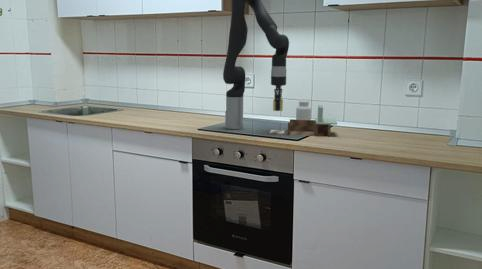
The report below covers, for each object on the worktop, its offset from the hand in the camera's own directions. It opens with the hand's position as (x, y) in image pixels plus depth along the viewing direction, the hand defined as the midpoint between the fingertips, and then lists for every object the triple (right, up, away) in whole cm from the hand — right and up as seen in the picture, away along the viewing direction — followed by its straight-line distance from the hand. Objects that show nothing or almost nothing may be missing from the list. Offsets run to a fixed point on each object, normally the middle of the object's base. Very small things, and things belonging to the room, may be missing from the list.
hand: (277, 109), depth 227 cm
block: (0, 0, 0) cm, 0 cm away
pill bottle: (+15, -10, +20) cm, 27 cm away
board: (+11, -13, +1) cm, 17 cm away
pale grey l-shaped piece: (+24, -6, -2) cm, 25 cm away
